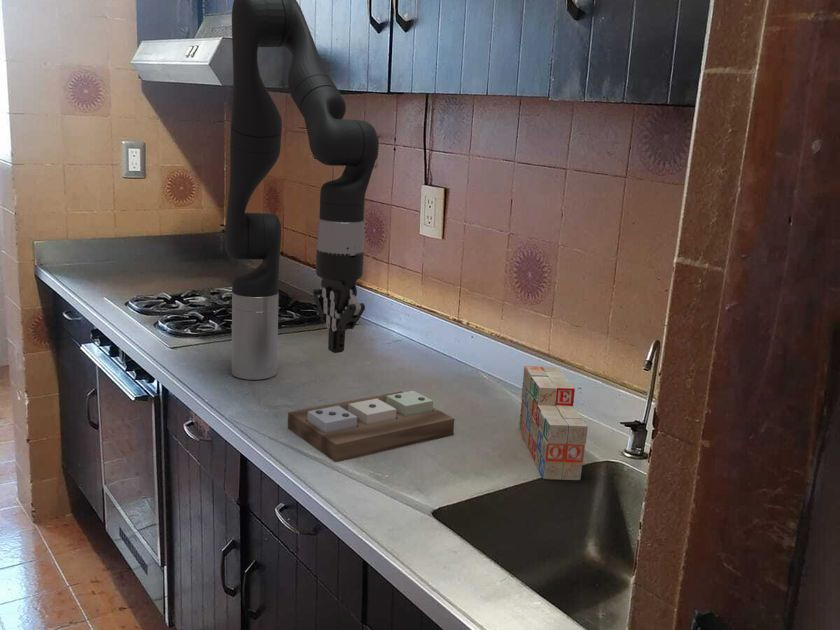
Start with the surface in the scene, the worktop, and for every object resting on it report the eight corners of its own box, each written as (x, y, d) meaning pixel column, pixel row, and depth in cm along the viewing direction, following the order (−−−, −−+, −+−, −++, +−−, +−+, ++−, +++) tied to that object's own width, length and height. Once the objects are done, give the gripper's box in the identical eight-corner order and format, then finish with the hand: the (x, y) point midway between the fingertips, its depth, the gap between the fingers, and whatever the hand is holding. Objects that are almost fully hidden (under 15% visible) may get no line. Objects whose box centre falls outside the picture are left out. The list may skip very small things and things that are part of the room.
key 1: (347, 421, 141) (348, 402, 140) (376, 415, 145) (377, 397, 144) (366, 432, 136) (367, 413, 136) (395, 426, 140) (396, 408, 139)
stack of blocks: (581, 481, 126) (590, 407, 124) (542, 480, 126) (550, 406, 123) (551, 430, 147) (558, 365, 144) (517, 429, 147) (524, 364, 144)
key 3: (307, 429, 136) (307, 410, 135) (337, 423, 140) (338, 404, 139) (325, 441, 132) (325, 421, 131) (356, 434, 135) (357, 415, 134)
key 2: (385, 412, 146) (386, 394, 145) (412, 407, 149) (413, 389, 148) (404, 423, 141) (406, 405, 140) (432, 417, 145) (433, 399, 144)
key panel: (287, 428, 140) (288, 412, 139) (400, 406, 154) (401, 391, 153) (335, 462, 128) (336, 444, 127) (453, 434, 142) (454, 418, 141)
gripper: (299, 241, 132) (296, 343, 136) (341, 256, 122) (337, 365, 126) (339, 240, 136) (335, 338, 141) (382, 253, 126) (377, 359, 130)
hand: (336, 351), depth 133 cm, fingers closed
